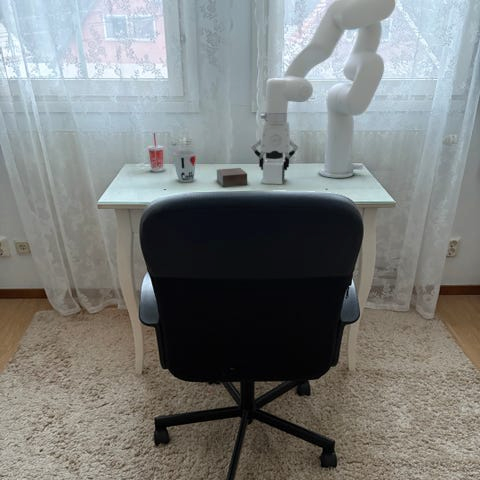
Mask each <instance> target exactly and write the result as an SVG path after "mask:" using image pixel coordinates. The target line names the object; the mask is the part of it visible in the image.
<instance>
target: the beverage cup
mask: <svg viewBox="0 0 480 480" xmlns="http://www.w3.org/2000/svg"><path fill="white" fill-rule="evenodd" d="M153 140H154V145H148V146H147V150H148V154H149V161H150V168H151V169H150V170H151V172H153V173H158V172H163V171H164V145H161V144H157V142H156V133H155V132H153Z"/></svg>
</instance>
